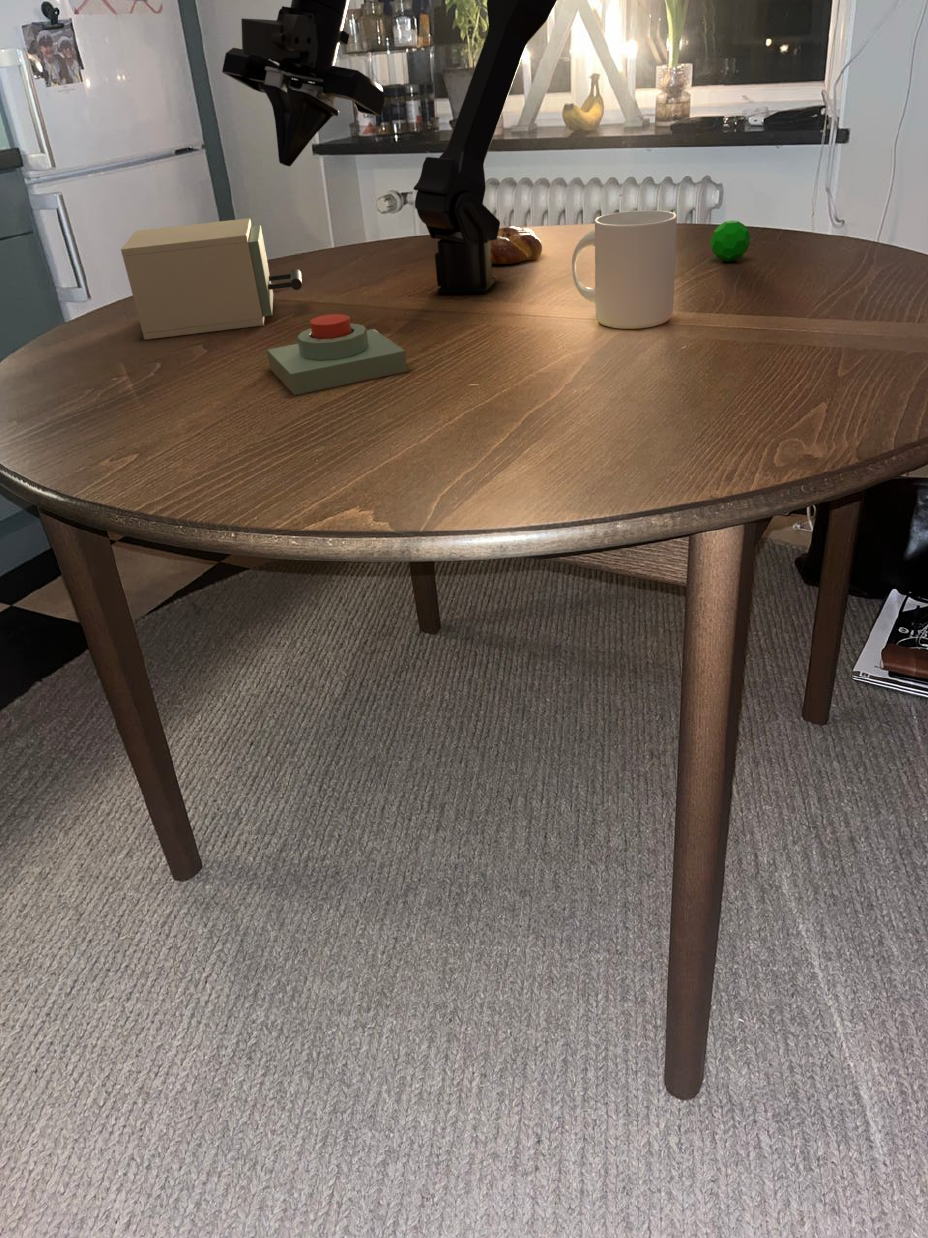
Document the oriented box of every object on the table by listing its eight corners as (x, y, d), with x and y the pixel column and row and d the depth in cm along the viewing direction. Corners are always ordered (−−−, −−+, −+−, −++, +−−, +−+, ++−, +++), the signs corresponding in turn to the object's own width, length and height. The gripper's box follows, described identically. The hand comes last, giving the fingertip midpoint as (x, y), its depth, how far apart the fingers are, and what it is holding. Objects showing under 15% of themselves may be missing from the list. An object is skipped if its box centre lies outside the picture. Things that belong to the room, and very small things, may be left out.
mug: (591, 304, 112) (590, 208, 107) (685, 312, 106) (690, 210, 100) (555, 323, 107) (552, 222, 101) (652, 333, 100) (655, 226, 95)
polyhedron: (748, 255, 127) (751, 217, 125) (747, 263, 123) (750, 224, 121) (711, 256, 129) (713, 218, 126) (708, 264, 125) (710, 226, 122)
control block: (376, 348, 104) (371, 311, 102) (407, 371, 96) (403, 332, 94) (270, 369, 100) (263, 332, 98) (294, 395, 92) (286, 355, 90)
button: (345, 328, 98) (342, 311, 98) (356, 337, 95) (354, 319, 94) (308, 335, 97) (305, 318, 96) (318, 344, 94) (316, 326, 93)
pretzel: (470, 251, 144) (468, 226, 142) (541, 246, 143) (541, 220, 141) (466, 269, 134) (464, 241, 132) (542, 263, 133) (541, 236, 131)
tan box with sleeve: (265, 301, 127) (250, 217, 121) (263, 325, 116) (246, 234, 111) (156, 314, 126) (135, 230, 120) (144, 339, 115) (120, 249, 109)
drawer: (304, 291, 127) (293, 221, 122) (306, 311, 117) (293, 236, 112) (171, 306, 125) (154, 236, 120) (162, 329, 115) (143, 253, 111)
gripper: (200, -36, 97) (171, 126, 101) (340, -17, 89) (301, 157, 93) (272, 12, 106) (242, 158, 111) (404, 33, 99) (366, 188, 103)
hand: (284, 164), depth 104 cm, fingers closed
